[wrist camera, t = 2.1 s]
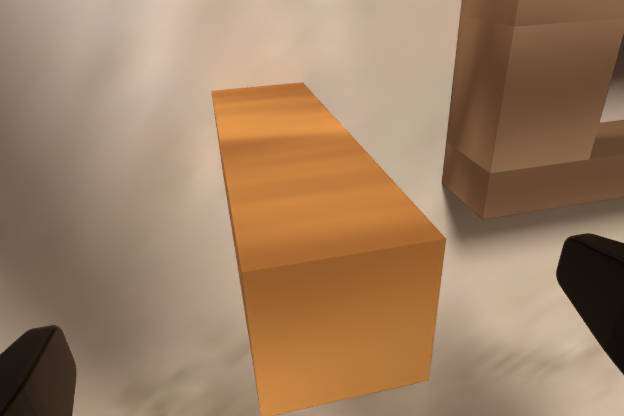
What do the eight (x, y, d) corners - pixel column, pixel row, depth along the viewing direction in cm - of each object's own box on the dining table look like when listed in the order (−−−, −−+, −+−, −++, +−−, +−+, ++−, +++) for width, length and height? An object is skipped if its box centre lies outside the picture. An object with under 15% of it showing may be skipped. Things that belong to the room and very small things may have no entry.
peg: (306, 165, 17) (428, 380, 8) (223, 176, 16) (261, 418, 8) (302, 82, 15) (446, 238, 7) (211, 91, 15) (241, 272, 6)
